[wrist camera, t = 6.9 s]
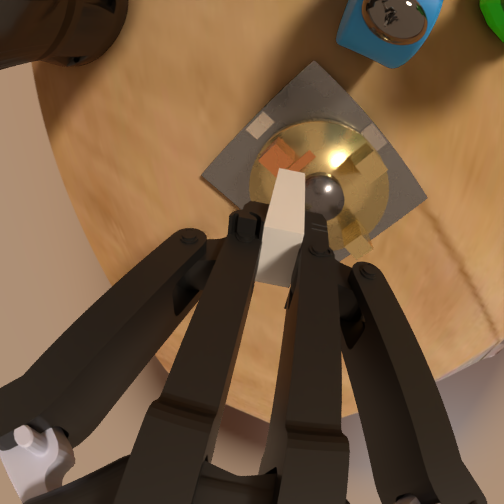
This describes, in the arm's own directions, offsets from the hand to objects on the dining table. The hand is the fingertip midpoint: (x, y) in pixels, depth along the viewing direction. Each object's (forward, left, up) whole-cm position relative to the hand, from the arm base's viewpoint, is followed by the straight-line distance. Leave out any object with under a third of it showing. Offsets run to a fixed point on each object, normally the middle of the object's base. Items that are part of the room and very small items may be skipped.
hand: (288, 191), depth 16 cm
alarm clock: (-5, +17, -18) cm, 26 cm away
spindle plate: (+6, -2, -18) cm, 19 cm away
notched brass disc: (+6, -2, -17) cm, 18 cm away
